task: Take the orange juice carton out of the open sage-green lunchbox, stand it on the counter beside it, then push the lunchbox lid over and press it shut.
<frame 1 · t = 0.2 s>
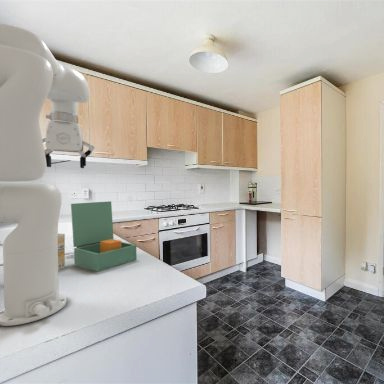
hand: (65, 167, 84), 37 cm above the counter, tool pointing down, fingers open, 9 cm apart
lunchbox: (106, 263, 90), on the counter
supplement box: (48, 273, 81), on the counter
juice carton: (111, 262, 89), point 1 cm above the counter, touching lunchbox
lunchbox lid: (91, 222, 94), point 15 cm above the counter, hinge at 95.0°
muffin: (90, 254, 102), on the counter
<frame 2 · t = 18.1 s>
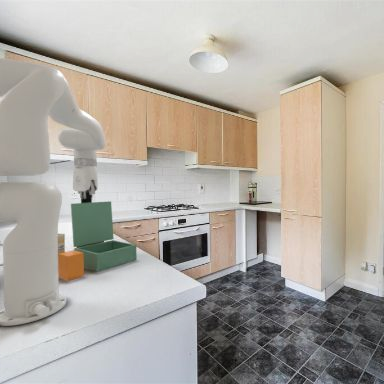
hand: (86, 208, 96), 21 cm above the counter, tool pointing down, fingers closed
juice carton: (71, 278, 76), on the counter
lunchbox lid: (91, 222, 94), point 15 cm above the counter, hinge at 95.2°, touching gripper
everything else where it was.
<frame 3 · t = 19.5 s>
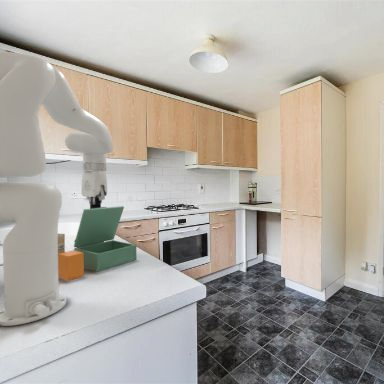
hand: (95, 213, 93), 19 cm above the counter, tool pointing down, fingers closed
lunchbox lid: (97, 223, 92), point 15 cm above the counter, hinge at 62.5°, touching gripper
everything else where it was.
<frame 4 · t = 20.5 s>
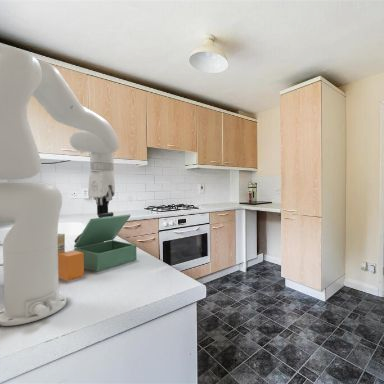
hand: (102, 215, 90), 19 cm above the counter, tool pointing down, fingers closed
lunchbox lid: (101, 226, 91), point 14 cm above the counter, hinge at 43.6°, touching gripper
everything else where it was.
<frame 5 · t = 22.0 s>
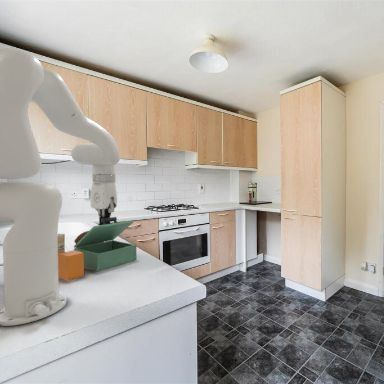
hand: (104, 226, 90), 15 cm above the counter, tool pointing down, fingers closed
lunchbox lid: (103, 229, 91), point 13 cm above the counter, hinge at 32.8°
everything else where it was.
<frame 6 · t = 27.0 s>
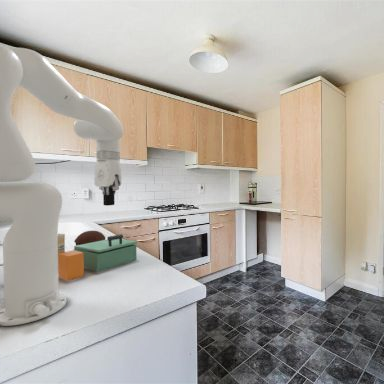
hand: (109, 205, 88), 23 cm above the counter, tool pointing down, fingers closed
lunchbox lid: (106, 239, 90), point 9 cm above the counter, hinge at 2.4°
everything else where it was.
at the end: juice carton inside the target area (0.4 cm from its centre), on the counter; juice carton tilted 0°; lunchbox lid at +2° (first picture: +95°) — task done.
